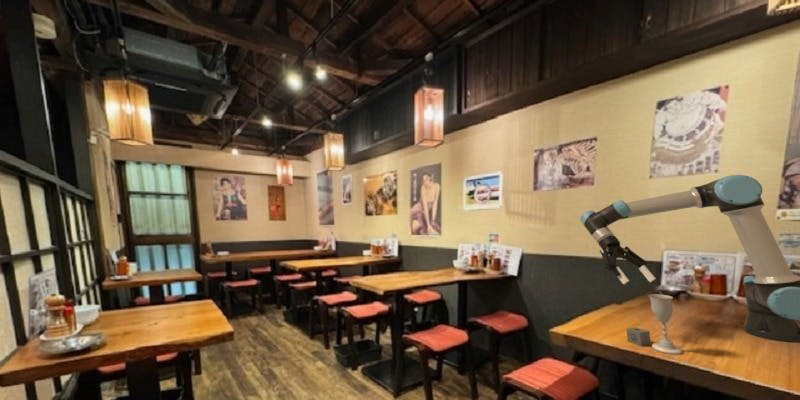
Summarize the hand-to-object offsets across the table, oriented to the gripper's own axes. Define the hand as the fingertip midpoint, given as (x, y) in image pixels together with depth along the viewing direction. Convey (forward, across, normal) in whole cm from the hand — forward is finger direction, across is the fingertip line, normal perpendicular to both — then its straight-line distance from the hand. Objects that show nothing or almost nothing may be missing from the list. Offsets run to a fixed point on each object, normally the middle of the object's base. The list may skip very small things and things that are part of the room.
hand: (639, 281), depth 120 cm
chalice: (+23, +3, -6) cm, 24 cm away
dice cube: (+19, +6, -13) cm, 24 cm away
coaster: (+24, +3, -6) cm, 25 cm away
